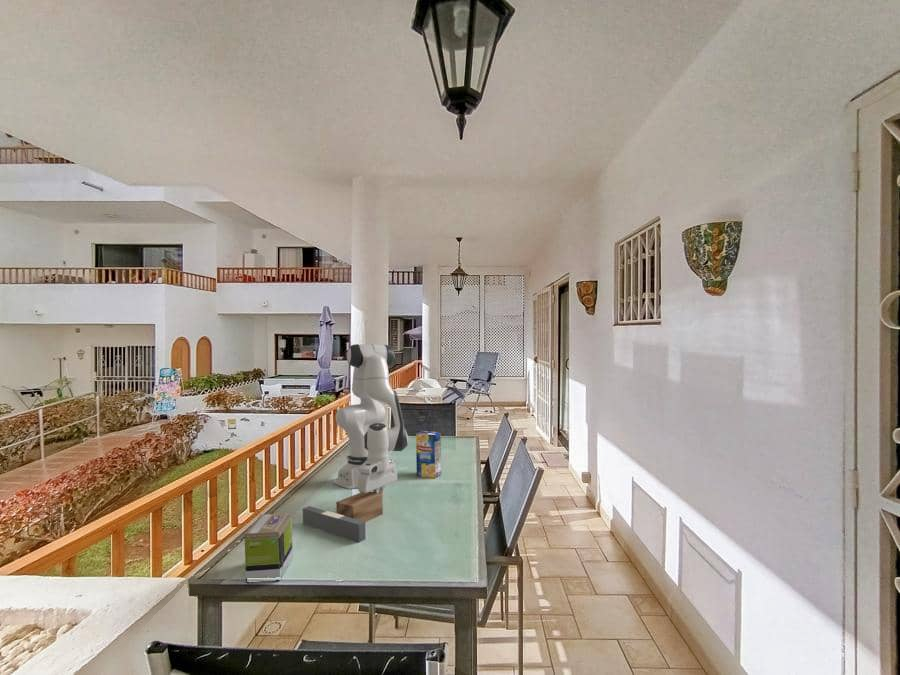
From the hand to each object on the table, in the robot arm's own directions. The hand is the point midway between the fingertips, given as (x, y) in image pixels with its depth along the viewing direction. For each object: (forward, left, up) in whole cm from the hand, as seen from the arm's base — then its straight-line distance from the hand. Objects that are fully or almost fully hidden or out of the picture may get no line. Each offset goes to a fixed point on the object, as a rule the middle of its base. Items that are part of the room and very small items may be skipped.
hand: (378, 497), depth 188 cm
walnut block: (-1, -10, -5) cm, 11 cm away
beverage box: (-12, +51, -5) cm, 52 cm away
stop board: (0, -24, -5) cm, 25 cm away
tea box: (+6, -54, -6) cm, 55 cm away
